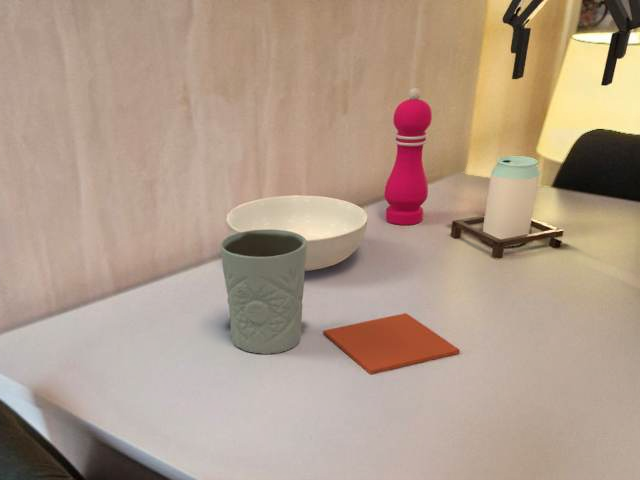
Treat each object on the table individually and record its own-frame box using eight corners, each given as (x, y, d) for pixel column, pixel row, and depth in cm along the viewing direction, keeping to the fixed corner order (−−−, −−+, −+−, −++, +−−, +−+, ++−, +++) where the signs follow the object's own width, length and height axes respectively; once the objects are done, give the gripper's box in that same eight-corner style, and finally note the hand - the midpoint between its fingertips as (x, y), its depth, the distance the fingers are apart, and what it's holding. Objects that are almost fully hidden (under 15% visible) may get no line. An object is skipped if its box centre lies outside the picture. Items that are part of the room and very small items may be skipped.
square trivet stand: (560, 246, 118) (563, 230, 116) (495, 259, 114) (498, 242, 113) (511, 225, 127) (514, 209, 125) (450, 236, 123) (452, 220, 122)
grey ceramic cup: (253, 364, 90) (250, 263, 82) (210, 335, 96) (203, 239, 89) (322, 341, 94) (325, 243, 86) (276, 315, 101) (274, 222, 93)
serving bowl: (215, 284, 110) (212, 236, 106) (242, 237, 126) (241, 193, 122) (360, 290, 107) (362, 240, 102) (369, 240, 123) (372, 196, 119)
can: (486, 249, 118) (498, 166, 111) (477, 234, 124) (488, 155, 116) (532, 248, 118) (548, 165, 110) (521, 233, 123) (535, 153, 116)
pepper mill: (403, 229, 127) (415, 94, 115) (373, 219, 132) (382, 88, 119) (434, 220, 130) (448, 87, 118) (403, 210, 135) (414, 82, 123)
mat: (459, 353, 90) (460, 349, 90) (370, 374, 87) (370, 370, 86) (405, 316, 99) (406, 312, 99) (323, 334, 96) (323, 330, 95)
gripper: (495, -94, 107) (473, 79, 120) (686, -102, 94) (639, 91, 107) (515, -94, 111) (492, 72, 124) (700, -102, 99) (653, 83, 112)
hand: (560, 81), depth 116 cm, fingers open, 13 cm apart
